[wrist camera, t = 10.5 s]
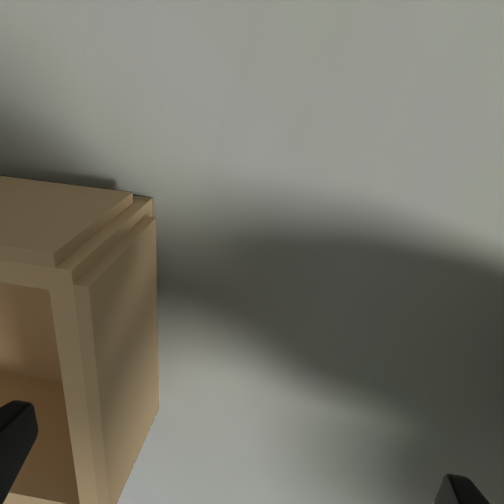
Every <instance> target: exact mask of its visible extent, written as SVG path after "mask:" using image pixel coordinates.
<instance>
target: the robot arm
mask: <svg viewBox="0 0 504 504" xmlns="http://www.w3.org/2000/svg"><path fill="white" fill-rule="evenodd" d="M37 435H38V423H37V418H36V413H35V408H34V405H33V404H32V403H31V402H27V401H21V400H13V401H11V402H9V403H7V404H5V405H3V406H1V407H0V504H3V503H4V501H5V499H6V497H7V495H8V493H9V491H10V489H11V487H12V486H13V484H14V482H15V480H16V478H17V476H18V474H19V472H20V470H21V468H22V466H23V464H24V462H25V460H26V458H27V456H28V454H29V452H30V450H31V448H32V446H33V444H34V443H35V441H36V438H37ZM435 504H489V502H488V501H487V500H486V499H485V497H484V496H483V495H482V494H481V492H480V491H479V490H478V489H477V488H476V486H475V485H474V484H473V483H472V481H471V480H470V479H468V478H467V477H464V476H460V475H454V474H447V475H445V476H444V478H443V481H442V483H441V486H440V489H439V491H438V494H437V497H436V500H435Z"/></svg>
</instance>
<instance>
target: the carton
mask: <svg viewBox="0 0 504 504" xmlns="http://www.w3.org/2000/svg"><path fill="white" fill-rule="evenodd" d="M13 400H21V401H27V402H31V403H32V404H33V405H34V408H35V413H36V418H37V423H38V435H37V438H36V441H35V443H34V444H33V446H32V448H31V450H30V452H29V454H28V456H27V458H26V460H25V462H24V464H23V466H22V468H21V470H20V472H19V474H18V476H17V478H16V480H15V482H14V484H13V486H12V487H11V489H10V491H9V493H8V495H7V497H6V499H5V501H4V503H3V504H117V502H118V500H119V497H120V495H121V493H122V491H123V488H124V486H125V484H126V482H127V479H128V477H129V475H130V473H131V470H132V468H133V466H134V463H135V461H136V459H137V457H138V454H139V452H140V450H141V448H142V445H143V443H144V441H145V439H146V436H147V434H148V432H149V430H150V427H151V425H152V423H153V421H154V418H155V416H156V414H157V412H158V409H159V375H158V312H157V249H156V218H154V217H153V198H149V197H141V196H133V192H125V191H117V190H109V189H101V188H93V187H85V186H77V185H69V184H61V183H53V182H45V181H37V180H29V179H21V178H13V177H5V176H0V407H1V406H3V405H5V404H7V403H9V402H11V401H13Z"/></svg>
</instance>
